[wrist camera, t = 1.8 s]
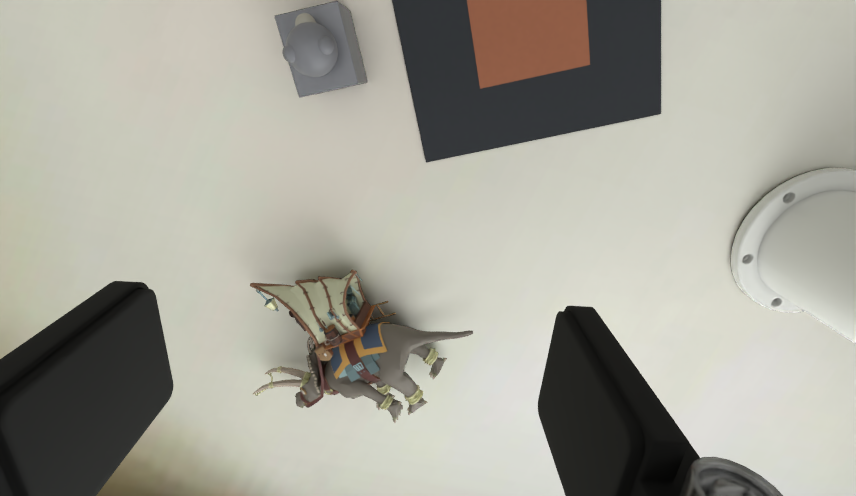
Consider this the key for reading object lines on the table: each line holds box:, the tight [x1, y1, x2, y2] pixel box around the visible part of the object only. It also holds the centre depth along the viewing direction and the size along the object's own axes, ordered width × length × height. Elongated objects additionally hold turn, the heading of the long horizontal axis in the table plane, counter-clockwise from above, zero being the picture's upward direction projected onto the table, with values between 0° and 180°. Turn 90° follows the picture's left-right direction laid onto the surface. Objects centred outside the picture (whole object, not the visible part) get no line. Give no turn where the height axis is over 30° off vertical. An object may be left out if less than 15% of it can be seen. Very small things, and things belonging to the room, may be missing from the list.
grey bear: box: [275, 1, 367, 97], centre depth 28 cm, size 4×5×7 cm
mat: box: [392, 0, 661, 162], centre depth 30 cm, size 18×18×1 cm
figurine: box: [250, 270, 473, 423], centre depth 37 cm, size 20×6×17 cm
